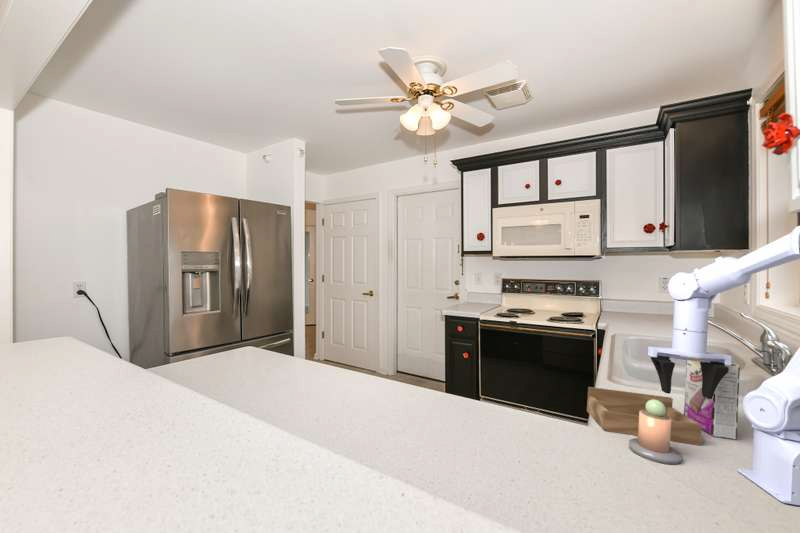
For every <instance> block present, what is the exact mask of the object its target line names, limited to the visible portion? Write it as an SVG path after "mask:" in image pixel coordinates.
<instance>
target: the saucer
mask: <svg viewBox="0 0 800 533" xmlns="http://www.w3.org/2000/svg"><path fill="white" fill-rule="evenodd" d="M637 440H638V437H636V438H635V437H634V438H630V439H629V440H628V441H629V442H628V448H629V450H630V451H631V452H633V453H634V454H635V455H637V456H639V457H641V458H644V459H646V460H649V461H651V462H653V463H654V462H655V463H658V464H662V465H663V464H664V465H667V466H670V465H671V466H675V465H676V466H677V465H680V464H681V463H682V454H681V453H680V452H679V451H678V450H676V449H675V448H674V447H671V446H670V452H669V453H657V452H653V451H650V450H647V449H645V448H643V447H641V446H640V445H639V444H638V443H637Z"/></svg>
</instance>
